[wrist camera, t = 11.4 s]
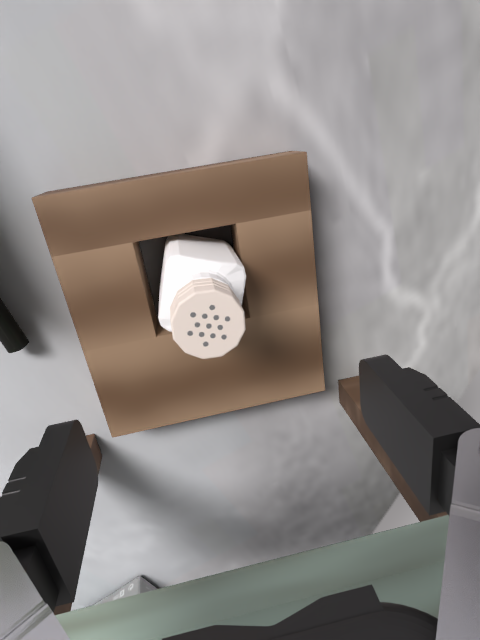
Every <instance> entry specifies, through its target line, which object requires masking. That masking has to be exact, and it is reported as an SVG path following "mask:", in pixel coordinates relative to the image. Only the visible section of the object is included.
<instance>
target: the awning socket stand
mask: <svg viewBox="0 0 480 640" xmlns="http://www.w3.org/2000/svg"><path fill="white" fill-rule="evenodd" d="M32 201H33V204H34V207H35V210H36V213H37V216H38V219H39V222H40V225H41V228H42V231H43V234H44V237H45V240H46V243H47V245H48V248H49V251H50V254H51V257H52V260H53V263H54V266H55V269H56V272H57V275H58V278H59V281H60V284H61V287H62V290H63V293H64V296H65V299H66V302H67V305H68V308H69V311H70V314H71V317H72V320H73V323H74V326H75V329H76V332H77V335H78V338H79V341H80V343H81V346H82V349H83V352H84V355H85V358H86V361H87V364H88V367H89V370H90V373H91V376H92V379H93V382H94V385H95V388H96V391H97V394H98V397H99V400H100V403H101V406H102V409H103V412H104V415H105V418H106V421H107V424H108V427H109V430H110V433H111V436H112V437H117V436H121V435H126V434H130V433H135V432H139V431H144V430H149V429H153V428H158V427H162V426H167V425H171V424H176V423H180V422H185V421H189V420H194V419H198V418H203V417H207V416H212V415H216V414H221V413H225V412H230V411H234V410H239V409H243V408H248V407H253V406H257V405H262V404H266V403H271V402H275V401H280V400H284V399H289V398H293V397H298V396H302V395H307V394H311V393H316V392H320V391H325V383H324V370H323V358H322V345H321V332H320V319H319V306H318V293H317V280H316V268H315V255H314V242H313V229H312V216H311V203H310V190H309V178H308V165H307V152H300V151H288V152H282V153H276V154H270V155H264V156H258V157H252V158H246V159H240V160H234V161H228V162H222V163H216V164H210V165H204V166H198V167H192V168H186V169H180V170H174V171H168V172H162V173H156V174H150V175H144V176H138V177H132V178H126V179H120V180H114V181H108V182H102V183H96V184H90V185H84V186H78V187H72V188H66V189H60V190H55V191H49V192H45V193H43V194H40V195H38V196H35V197H33V198H32ZM226 225H230V227H231V234H232V240H233V247H234V252H235V253H236V255H237V256H238V258H239V260H240V261H241V263H242V264H243V266H244V269H245V273H246V282H245V288H244V294H243V300H242V305H241V306H242V308H243V310H244V314H245V328H246V330H245V332H244V334H243V336H242V338H241V339H240V341H239V343H238V345H237V346H236V347H235V348H233V349H232V350H230V351H229V352H228V353H226V354H225V355H223V356H222V357H215V358H208V359H201V358H198V357H195V356H192V355H190V354H187V353H185V352H184V351H183V350H182V349H181V348H180V347H179V345H178V344H177V343H176V342H175V341H174V340H173V335H172V332H170V331H168V330H166V329H165V328H163V327H162V326H161V325H160V322H159V319H158V317H157V315H156V311H155V306H154V302H153V298H152V294H151V290H150V286H149V282H148V278H147V274H146V270H145V266H144V262H143V258H142V254H141V250H140V246H139V242H138V241H143V240H148V239H154V238H159V237H165V236H170V235H176V234H181V233H187V232H192V231H198V230H204V229H209V228H215V227H220V226H226ZM338 383H339V399H340V404H341V405H342V407H343V408H344V410H345V411H346V413H347V414H348V416H349V417H350V419H351V420H352V421H353V423H354V424H355V426H356V427H357V429H358V430H359V432H360V433H361V435H362V436H363V438H364V439H365V441H366V442H367V444H368V445H369V447H370V448H371V450H372V451H373V453H374V454H375V456H376V457H377V459H378V460H379V462H380V463H381V465H382V466H383V467H384V469H385V470H386V472H387V473H388V475H389V476H390V478H391V479H392V481H393V482H394V484H395V485H396V487H397V488H398V490H399V491H400V493H401V494H402V496H403V497H404V499H405V500H406V502H407V503H408V505H409V506H410V507H411V509H412V511H413V512H414V513H415V515H416V516H417V518H418V519H419V521H420V522H418V523H415V524H411V525H406V526H403V527H399V528H395V529H391V530H387V531H383V532H379V533H375V534H371V535H367V536H363V537H360V538H356V539H352V540H348V541H344V542H340V543H336V544H332V545H328V546H324V547H320V548H316V549H313V550H309V551H305V552H301V553H297V554H293V555H289V556H285V557H281V558H277V559H273V560H270V561H266V562H262V563H258V564H254V565H250V566H246V567H242V568H238V569H234V570H230V571H226V572H223V573H219V574H215V575H211V576H207V577H203V578H199V579H195V580H191V581H187V582H183V583H180V584H176V585H172V586H168V587H164V588H160V589H156V590H152V591H148V592H144V593H140V594H136V595H133V596H129V597H125V598H121V599H117V600H113V601H109V602H105V603H101V604H97V605H93V606H90V607H86V608H82V609H78V610H74V611H71V606H72V603H68V604H64V605H60V606H56V607H55V610H54V615H55V616H56V618H57V620H58V621H59V623H60V624H61V626H62V628H63V629H64V631H65V632H66V634H67V635H68V637H69V639H70V640H162V638H166V637H170V636H174V635H178V634H182V633H186V632H189V631H193V630H197V629H201V628H205V627H209V626H213V625H238V626H272V625H275V624H277V623H279V622H281V621H282V620H284V619H286V618H287V617H289V616H291V615H292V614H294V613H296V612H298V611H299V610H301V609H303V608H304V607H306V606H308V605H309V604H311V603H313V602H315V601H316V600H318V599H320V598H321V597H325V596H329V595H332V594H336V593H340V592H344V591H348V590H352V589H356V588H360V587H363V586H367V585H371V584H372V586H373V588H374V590H375V592H376V594H377V597H378V599H379V601H380V602H389V603H395V604H402V605H405V606H409V607H412V608H416V609H418V610H421V611H423V612H426V613H428V614H430V615H432V616H434V617H436V618H438V614H439V605H440V596H441V587H442V578H443V569H444V560H445V551H446V542H447V533H448V524H449V515H448V514H447V513H446V512H442V513H438V514H434V515H430V516H429V514H428V513H427V512H426V510H425V509H424V507H423V506H422V504H421V503H420V501H419V500H418V499H417V497H416V496H415V494H414V493H413V491H412V490H411V488H410V487H409V486H408V484H407V483H406V481H405V480H404V478H403V477H402V475H401V474H400V473H399V471H398V470H397V468H396V467H395V465H394V464H393V462H392V461H391V460H390V458H389V457H388V455H387V454H386V452H385V451H384V449H383V448H382V447H381V445H380V444H379V442H378V441H377V439H376V438H375V436H374V435H373V434H372V432H371V431H370V429H369V428H368V426H367V425H366V423H365V420H364V418H363V415H362V411H361V406H360V382H359V376H355V377H351V378H346V379H342V380H338ZM86 438H87V441H88V443H89V446H90V449H91V451H92V454H93V457H94V459H95V462H96V466H97V471H98V474H99V469H100V464H101V459H102V454H101V451H100V448H99V446H98V443H97V440H96V437H95V434H91V435H87V436H86Z"/></svg>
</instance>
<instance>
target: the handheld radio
mask: <svg viewBox="0 0 480 640" xmlns="http://www.w3.org/2000/svg"><path fill="white" fill-rule="evenodd" d="M0 341H1V342H2V344H3V345H4V347H5V348H6V350H7V351H8V353H13V352H16V351H19V350H21V349H23V348H24V347H25V346H26V345H27V344H28V343H29V341H28V339H27V338H26V336H25V335H24V333H23V332H22V330H21V329H20V327H19V325H18V324H17V322H16V321H15V319H14V318H13V316H12V315H11V313H10V312H9V310H8V309H7V307H6V306H5V304H4V303H3V301H2V300H1V298H0Z"/></svg>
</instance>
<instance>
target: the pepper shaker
mask: <svg viewBox="0 0 480 640" xmlns="http://www.w3.org/2000/svg"><path fill="white" fill-rule="evenodd" d="M245 282H246V273H245V269H244V266H243V264H242V263H241V261H240V260H239V258H238V256H237V255H236V253H235V252H234V250H233V249H232V247H231V245H230V244H228V243H227V242H225V241H224V240H218V239H211V238H205V237H199V236H193V235H186V234H176V235H170V236H168V238H167V240H166V241H165V249H164V257H163V264H162V272H161V280H160V292H159V313H158V319H159V322H160V325H161V326H162V327H163V328H165V329H166V330H168V331H170V332H172V335H173V340H174V341H175V342H176V343H177V344H178V345H179V347H180V348H181V349H182V350H183V351H184V352H185V353H187V354H190V355H192V356H195V357H198V358H201V359H208V358H215V357H222V356H223V355H225V354H226V353H228V352H229V351H230V350H232V349H233V348H235V347H236V346H237V345H238V343H239V341H240V339H241V338H242V336H243V334H244V332H245V330H246V328H245V314H244V310H243V308H242V306H241V305H242V300H243V294H244V288H245Z"/></svg>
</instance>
